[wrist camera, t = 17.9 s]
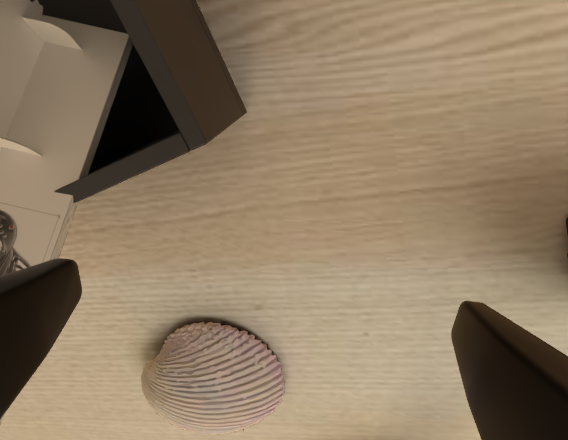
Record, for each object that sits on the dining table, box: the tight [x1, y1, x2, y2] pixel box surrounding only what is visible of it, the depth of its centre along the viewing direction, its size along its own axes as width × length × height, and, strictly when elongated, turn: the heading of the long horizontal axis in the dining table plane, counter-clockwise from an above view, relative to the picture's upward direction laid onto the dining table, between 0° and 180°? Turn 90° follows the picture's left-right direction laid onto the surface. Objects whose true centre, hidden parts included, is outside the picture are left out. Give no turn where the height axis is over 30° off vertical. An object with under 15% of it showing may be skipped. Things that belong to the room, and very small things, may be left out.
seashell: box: [141, 322, 285, 435], centre depth 26 cm, size 10×6×10 cm
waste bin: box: [30, 0, 247, 203], centre depth 15 cm, size 12×11×8 cm
